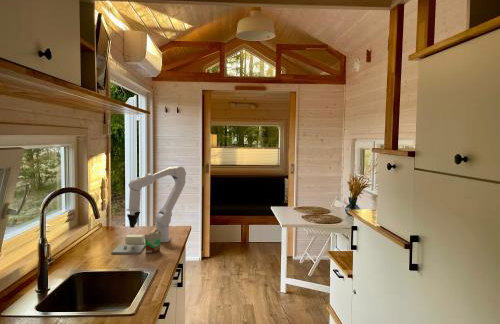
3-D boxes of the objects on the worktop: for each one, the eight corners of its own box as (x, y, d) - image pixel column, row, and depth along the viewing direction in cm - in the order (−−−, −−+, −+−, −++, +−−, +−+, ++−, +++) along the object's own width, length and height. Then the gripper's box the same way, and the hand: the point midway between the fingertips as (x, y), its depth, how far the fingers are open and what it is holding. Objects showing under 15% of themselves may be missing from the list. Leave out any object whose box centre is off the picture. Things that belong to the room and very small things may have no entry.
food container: (155, 255, 185) (155, 235, 185) (144, 254, 186) (144, 235, 186) (166, 248, 197) (166, 230, 197) (155, 247, 199) (155, 229, 198)
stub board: (119, 246, 200) (119, 241, 200) (145, 246, 201) (145, 241, 201) (111, 254, 186) (111, 248, 186) (139, 254, 187) (139, 248, 187)
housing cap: (127, 242, 208) (127, 234, 207) (144, 242, 208) (144, 234, 208) (125, 245, 203) (125, 237, 202) (142, 245, 203) (142, 237, 203)
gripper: (129, 199, 209) (127, 223, 210) (124, 202, 195) (123, 228, 195) (141, 199, 211) (140, 223, 211) (138, 203, 196) (137, 228, 197)
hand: (133, 226), depth 203 cm, fingers open, 7 cm apart
